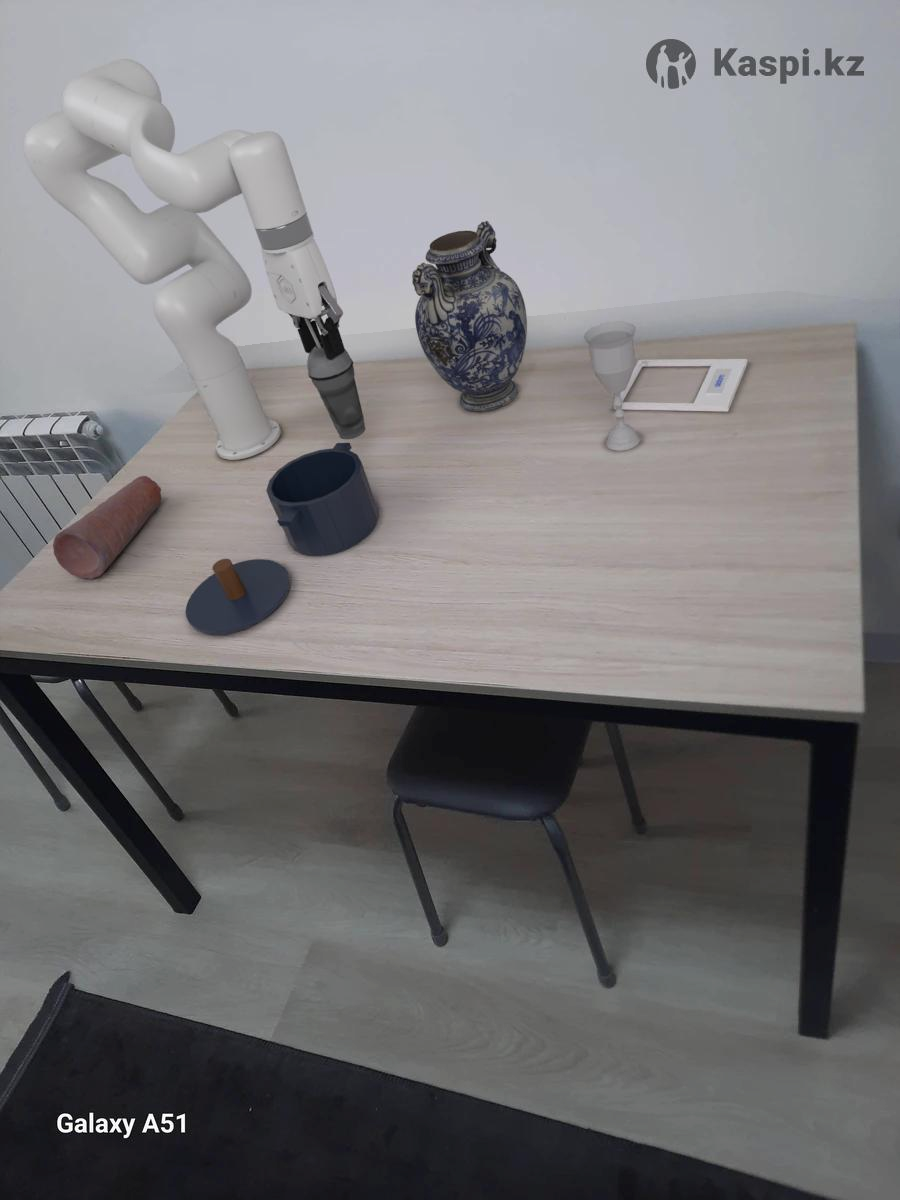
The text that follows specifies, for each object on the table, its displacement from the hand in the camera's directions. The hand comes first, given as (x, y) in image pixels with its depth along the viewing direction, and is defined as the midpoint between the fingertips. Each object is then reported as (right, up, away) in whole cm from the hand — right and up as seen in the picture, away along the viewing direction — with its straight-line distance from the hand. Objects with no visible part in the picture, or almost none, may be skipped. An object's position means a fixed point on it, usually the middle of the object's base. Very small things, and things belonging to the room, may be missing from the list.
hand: (325, 351), depth 131 cm
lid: (-12, -38, -7) cm, 40 cm away
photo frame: (+57, -3, +9) cm, 58 cm away
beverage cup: (+3, -11, +10) cm, 15 cm away
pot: (+1, -27, +2) cm, 27 cm away
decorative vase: (+26, -2, +22) cm, 34 cm away
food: (-35, -28, +14) cm, 47 cm away
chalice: (+46, -14, +1) cm, 48 cm away
